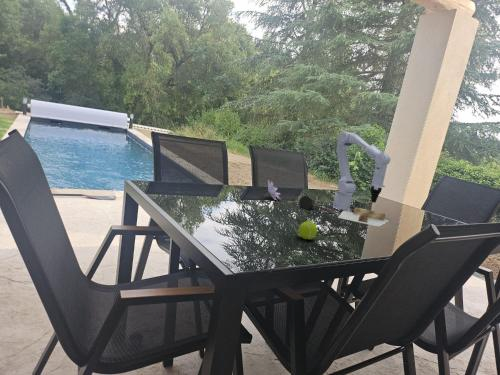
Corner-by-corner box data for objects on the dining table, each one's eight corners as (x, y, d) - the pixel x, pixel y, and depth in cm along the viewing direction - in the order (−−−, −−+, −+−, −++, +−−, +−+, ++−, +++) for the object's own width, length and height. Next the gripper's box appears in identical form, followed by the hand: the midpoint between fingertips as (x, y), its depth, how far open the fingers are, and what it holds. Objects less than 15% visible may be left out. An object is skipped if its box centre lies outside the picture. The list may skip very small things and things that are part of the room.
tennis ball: (303, 235, 153) (306, 218, 152) (318, 240, 149) (321, 223, 148) (294, 237, 148) (297, 220, 146) (309, 243, 143) (312, 225, 142)
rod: (353, 214, 206) (354, 208, 205) (354, 213, 209) (355, 207, 208) (384, 220, 201) (385, 214, 200) (384, 219, 204) (385, 213, 203)
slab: (337, 218, 192) (337, 217, 192) (343, 211, 212) (343, 210, 212) (387, 229, 184) (387, 228, 184) (388, 221, 204) (388, 220, 204)
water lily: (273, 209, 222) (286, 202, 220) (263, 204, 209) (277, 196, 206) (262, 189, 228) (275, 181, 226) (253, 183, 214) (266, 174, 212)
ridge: (358, 220, 191) (359, 215, 191) (359, 217, 199) (361, 212, 198) (366, 222, 190) (367, 216, 189) (367, 219, 197) (368, 214, 197)
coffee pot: (296, 206, 205) (302, 207, 212) (327, 219, 197) (331, 219, 204) (301, 193, 204) (306, 194, 212) (332, 205, 196) (336, 206, 204)
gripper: (386, 178, 193) (381, 204, 196) (387, 176, 207) (381, 200, 209) (372, 176, 196) (366, 201, 198) (373, 174, 209) (368, 198, 211)
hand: (373, 201), depth 204 cm, fingers open, 7 cm apart
